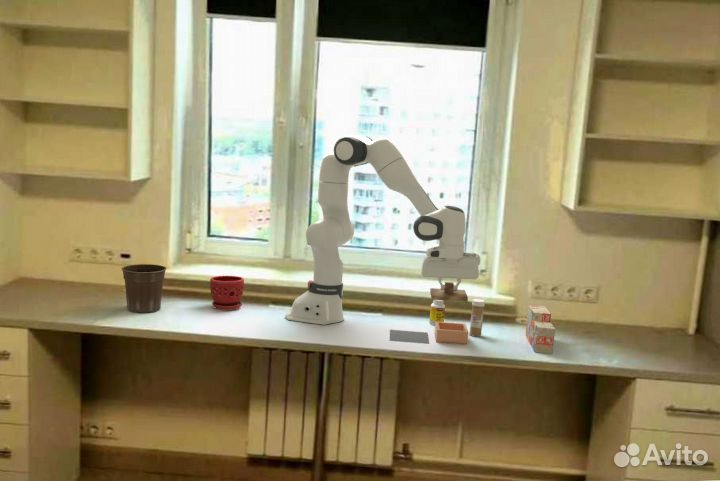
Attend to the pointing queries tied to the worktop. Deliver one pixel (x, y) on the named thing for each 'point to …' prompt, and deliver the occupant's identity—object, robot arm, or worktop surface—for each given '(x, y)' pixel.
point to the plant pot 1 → (143, 287)
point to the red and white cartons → (540, 329)
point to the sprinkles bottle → (476, 317)
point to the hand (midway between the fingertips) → (448, 290)
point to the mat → (409, 336)
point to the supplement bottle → (437, 312)
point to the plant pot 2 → (227, 292)
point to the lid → (448, 293)
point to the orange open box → (451, 333)
